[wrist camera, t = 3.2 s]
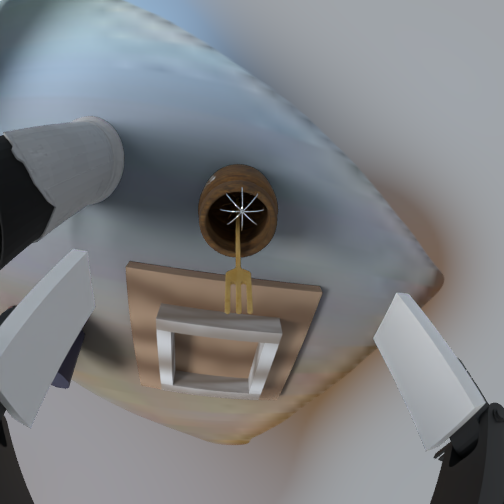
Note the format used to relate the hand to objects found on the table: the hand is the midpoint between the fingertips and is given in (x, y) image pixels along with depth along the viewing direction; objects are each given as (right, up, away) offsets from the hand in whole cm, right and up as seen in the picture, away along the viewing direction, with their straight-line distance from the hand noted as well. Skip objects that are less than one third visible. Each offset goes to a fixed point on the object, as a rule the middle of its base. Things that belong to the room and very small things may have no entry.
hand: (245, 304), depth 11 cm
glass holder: (-18, +9, +11) cm, 23 cm away
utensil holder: (-1, +7, +13) cm, 15 cm away
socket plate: (-4, -9, +21) cm, 23 cm away
